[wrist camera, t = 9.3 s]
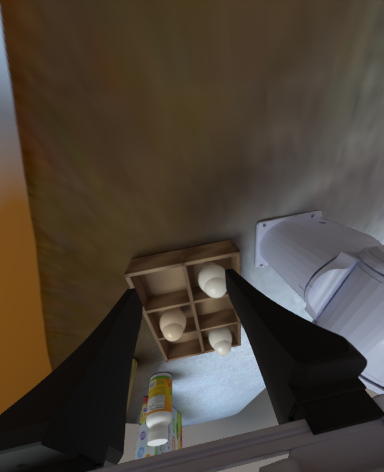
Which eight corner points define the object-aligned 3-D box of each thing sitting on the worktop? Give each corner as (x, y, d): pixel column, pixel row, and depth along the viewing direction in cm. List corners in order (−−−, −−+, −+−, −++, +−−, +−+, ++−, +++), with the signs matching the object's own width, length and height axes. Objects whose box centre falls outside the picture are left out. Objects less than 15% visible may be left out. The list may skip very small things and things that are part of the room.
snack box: (141, 396, 40) (124, 513, 27) (160, 391, 40) (153, 505, 27) (166, 418, 50) (164, 512, 36) (182, 414, 50) (185, 506, 36)
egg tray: (231, 239, 21) (240, 251, 18) (234, 328, 31) (240, 345, 28) (131, 259, 21) (124, 274, 18) (166, 342, 30) (165, 361, 27)
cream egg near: (222, 254, 21) (235, 278, 17) (223, 276, 23) (235, 302, 18) (193, 260, 21) (199, 285, 16) (197, 281, 23) (203, 309, 18)
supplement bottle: (172, 380, 38) (172, 444, 29) (151, 383, 37) (145, 449, 29) (171, 370, 36) (171, 436, 27) (149, 373, 35) (141, 441, 26)
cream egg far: (226, 315, 27) (236, 344, 23) (227, 328, 29) (237, 358, 25) (205, 320, 27) (211, 350, 23) (207, 333, 29) (213, 363, 25)
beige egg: (183, 297, 24) (185, 327, 20) (187, 314, 26) (189, 344, 21) (158, 302, 24) (154, 333, 19) (163, 318, 26) (161, 350, 21)
